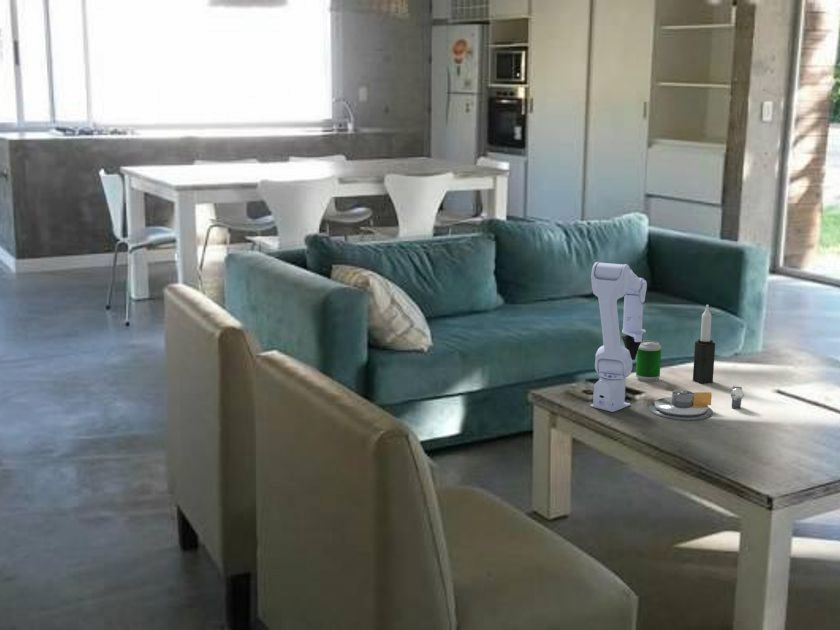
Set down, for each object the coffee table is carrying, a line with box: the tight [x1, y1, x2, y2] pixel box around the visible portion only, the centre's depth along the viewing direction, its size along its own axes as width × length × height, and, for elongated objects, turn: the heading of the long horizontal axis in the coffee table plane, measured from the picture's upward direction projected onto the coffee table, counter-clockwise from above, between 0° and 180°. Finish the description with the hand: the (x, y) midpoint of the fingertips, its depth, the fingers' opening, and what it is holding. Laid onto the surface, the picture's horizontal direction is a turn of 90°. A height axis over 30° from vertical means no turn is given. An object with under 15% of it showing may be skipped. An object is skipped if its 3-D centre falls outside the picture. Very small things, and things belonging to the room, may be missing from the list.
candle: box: [692, 304, 716, 385], centre depth 333 cm, size 5×5×25 cm
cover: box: [671, 389, 694, 408], centre depth 305 cm, size 6×6×4 cm
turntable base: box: [648, 402, 714, 421], centre depth 306 cm, size 18×18×1 cm
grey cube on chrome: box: [730, 385, 745, 410], centre depth 308 cm, size 3×4×6 cm
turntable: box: [654, 391, 713, 417], centre depth 306 cm, size 16×15×5 cm
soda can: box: [635, 340, 662, 383], centre depth 337 cm, size 8×8×12 cm
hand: (631, 359), depth 324 cm, fingers closed
